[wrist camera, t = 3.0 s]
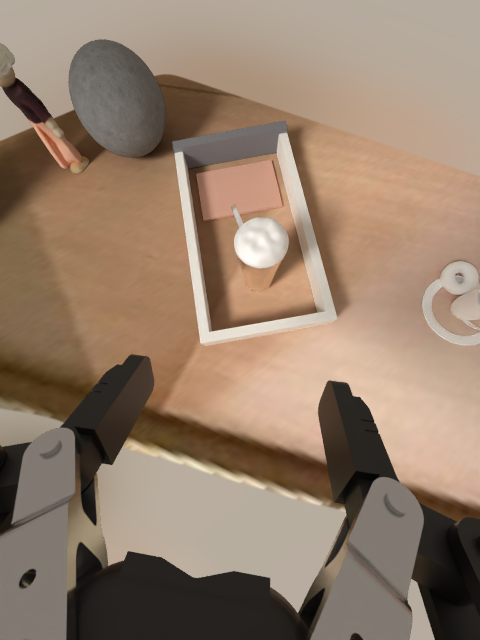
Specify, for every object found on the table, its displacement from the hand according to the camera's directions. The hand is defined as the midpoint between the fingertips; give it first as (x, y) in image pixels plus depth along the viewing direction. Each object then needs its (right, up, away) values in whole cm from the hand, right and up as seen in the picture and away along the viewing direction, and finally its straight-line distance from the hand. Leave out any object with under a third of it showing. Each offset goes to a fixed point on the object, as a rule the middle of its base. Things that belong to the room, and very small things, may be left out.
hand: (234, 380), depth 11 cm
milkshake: (+2, +8, +17) cm, 19 cm away
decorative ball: (-14, +27, +22) cm, 37 cm away
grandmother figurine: (-22, +24, +22) cm, 39 cm away
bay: (+1, +13, +18) cm, 22 cm away
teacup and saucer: (+27, +5, +16) cm, 32 cm away
